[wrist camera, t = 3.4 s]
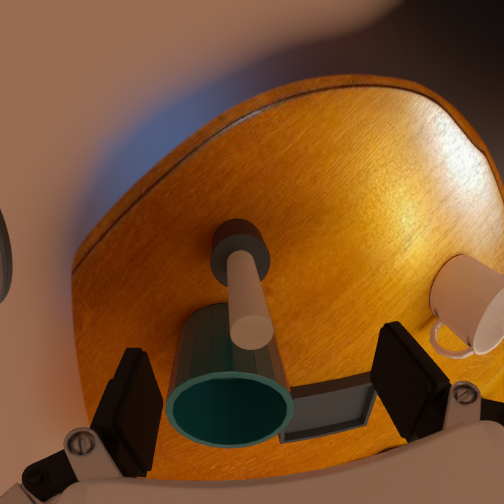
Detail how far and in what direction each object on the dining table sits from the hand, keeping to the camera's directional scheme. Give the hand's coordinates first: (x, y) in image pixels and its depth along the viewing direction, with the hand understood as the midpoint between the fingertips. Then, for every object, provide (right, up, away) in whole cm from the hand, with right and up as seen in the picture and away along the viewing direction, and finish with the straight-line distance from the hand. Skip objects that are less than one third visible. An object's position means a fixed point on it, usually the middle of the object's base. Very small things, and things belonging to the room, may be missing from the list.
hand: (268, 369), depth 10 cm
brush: (-2, +5, +16) cm, 17 cm away
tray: (+9, -16, +24) cm, 31 cm away
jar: (-3, -5, +19) cm, 20 cm away
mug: (+24, -1, +20) cm, 32 cm away
